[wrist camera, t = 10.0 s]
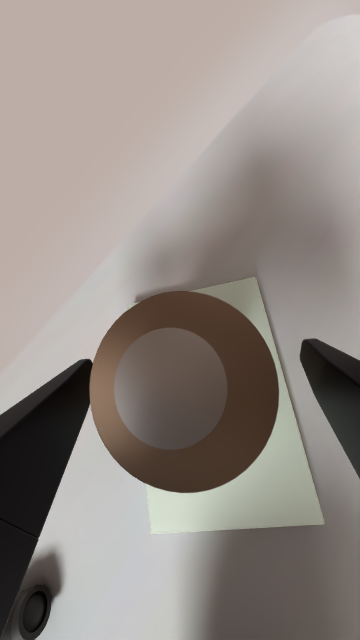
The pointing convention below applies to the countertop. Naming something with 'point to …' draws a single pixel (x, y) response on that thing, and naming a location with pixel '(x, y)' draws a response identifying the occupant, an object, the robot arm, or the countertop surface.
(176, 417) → the brown capped cylinder
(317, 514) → the serving board
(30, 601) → the door handle
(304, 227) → the countertop surface
